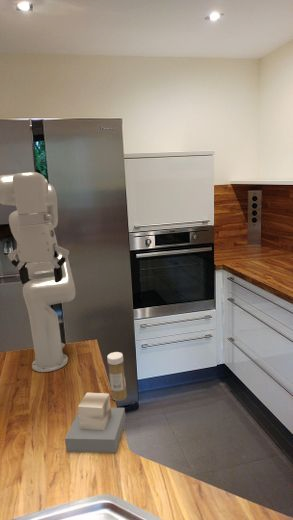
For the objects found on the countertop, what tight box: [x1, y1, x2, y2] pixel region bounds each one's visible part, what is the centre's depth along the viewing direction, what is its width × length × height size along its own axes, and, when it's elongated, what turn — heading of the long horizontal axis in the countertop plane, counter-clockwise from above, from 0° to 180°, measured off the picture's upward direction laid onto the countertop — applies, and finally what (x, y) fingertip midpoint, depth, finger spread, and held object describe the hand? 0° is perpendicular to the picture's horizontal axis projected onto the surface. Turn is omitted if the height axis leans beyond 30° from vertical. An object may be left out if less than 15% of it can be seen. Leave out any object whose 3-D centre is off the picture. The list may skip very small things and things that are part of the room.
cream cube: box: [77, 392, 112, 430], centre depth 88 cm, size 6×6×6 cm
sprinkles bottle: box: [106, 351, 128, 402], centre depth 103 cm, size 5×5×14 cm
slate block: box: [64, 407, 127, 454], centre depth 88 cm, size 12×12×4 cm
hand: (42, 282), depth 98 cm, fingers open, 9 cm apart
